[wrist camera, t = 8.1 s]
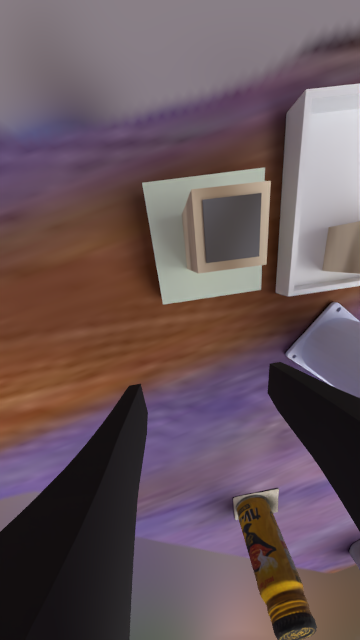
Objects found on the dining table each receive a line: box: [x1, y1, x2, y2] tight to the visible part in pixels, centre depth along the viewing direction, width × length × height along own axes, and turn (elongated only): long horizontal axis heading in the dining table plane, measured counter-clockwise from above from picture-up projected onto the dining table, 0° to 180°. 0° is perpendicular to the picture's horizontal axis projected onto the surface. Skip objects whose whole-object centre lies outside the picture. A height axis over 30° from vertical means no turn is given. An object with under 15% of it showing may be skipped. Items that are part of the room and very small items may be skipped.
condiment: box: [233, 489, 317, 640], centre depth 27 cm, size 7×8×12 cm
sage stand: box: [142, 168, 265, 304], centre depth 15 cm, size 9×9×2 cm
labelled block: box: [182, 181, 271, 273], centre depth 11 cm, size 4×4×5 cm
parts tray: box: [276, 84, 360, 297], centre depth 15 cm, size 14×13×2 cm
